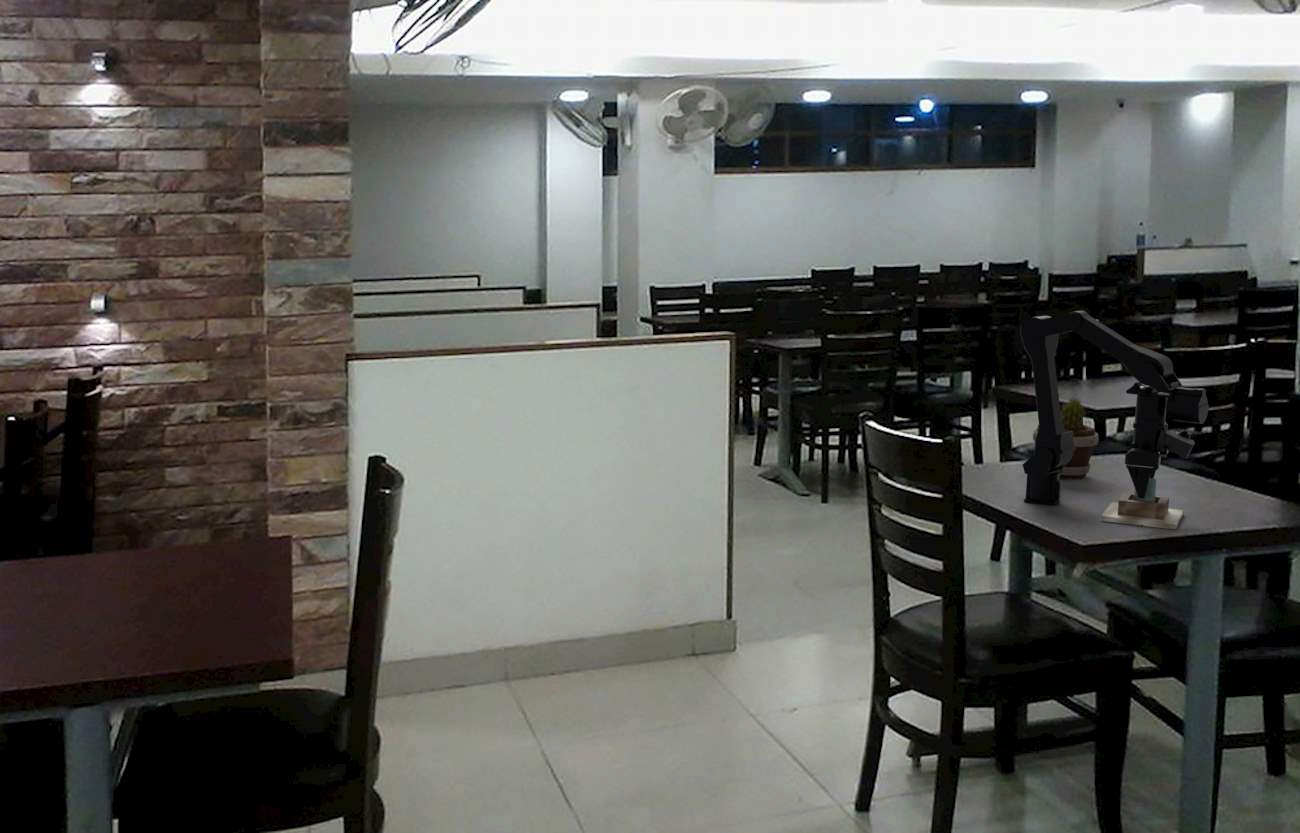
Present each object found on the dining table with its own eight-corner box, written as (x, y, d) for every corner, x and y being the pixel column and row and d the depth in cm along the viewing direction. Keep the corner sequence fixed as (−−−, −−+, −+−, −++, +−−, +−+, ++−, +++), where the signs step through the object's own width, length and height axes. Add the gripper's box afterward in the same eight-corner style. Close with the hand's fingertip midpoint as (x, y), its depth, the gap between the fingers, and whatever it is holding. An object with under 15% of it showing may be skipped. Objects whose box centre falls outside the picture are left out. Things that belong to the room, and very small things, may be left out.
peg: (1131, 513, 260) (1134, 479, 259) (1134, 509, 263) (1136, 476, 262) (1152, 516, 258) (1155, 482, 257) (1154, 512, 262) (1157, 478, 260)
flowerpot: (1022, 469, 309) (1027, 386, 306) (1086, 470, 308) (1092, 387, 305) (1037, 481, 295) (1043, 395, 291) (1105, 483, 294) (1111, 396, 291)
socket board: (1101, 520, 258) (1102, 501, 257) (1111, 506, 270) (1113, 488, 270) (1175, 529, 252) (1177, 509, 251) (1183, 515, 264) (1184, 495, 263)
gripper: (1188, 428, 246) (1182, 507, 248) (1198, 415, 262) (1191, 489, 265) (1127, 422, 251) (1121, 501, 253) (1140, 410, 267) (1134, 483, 270)
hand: (1144, 493), depth 260 cm, fingers open, 9 cm apart
